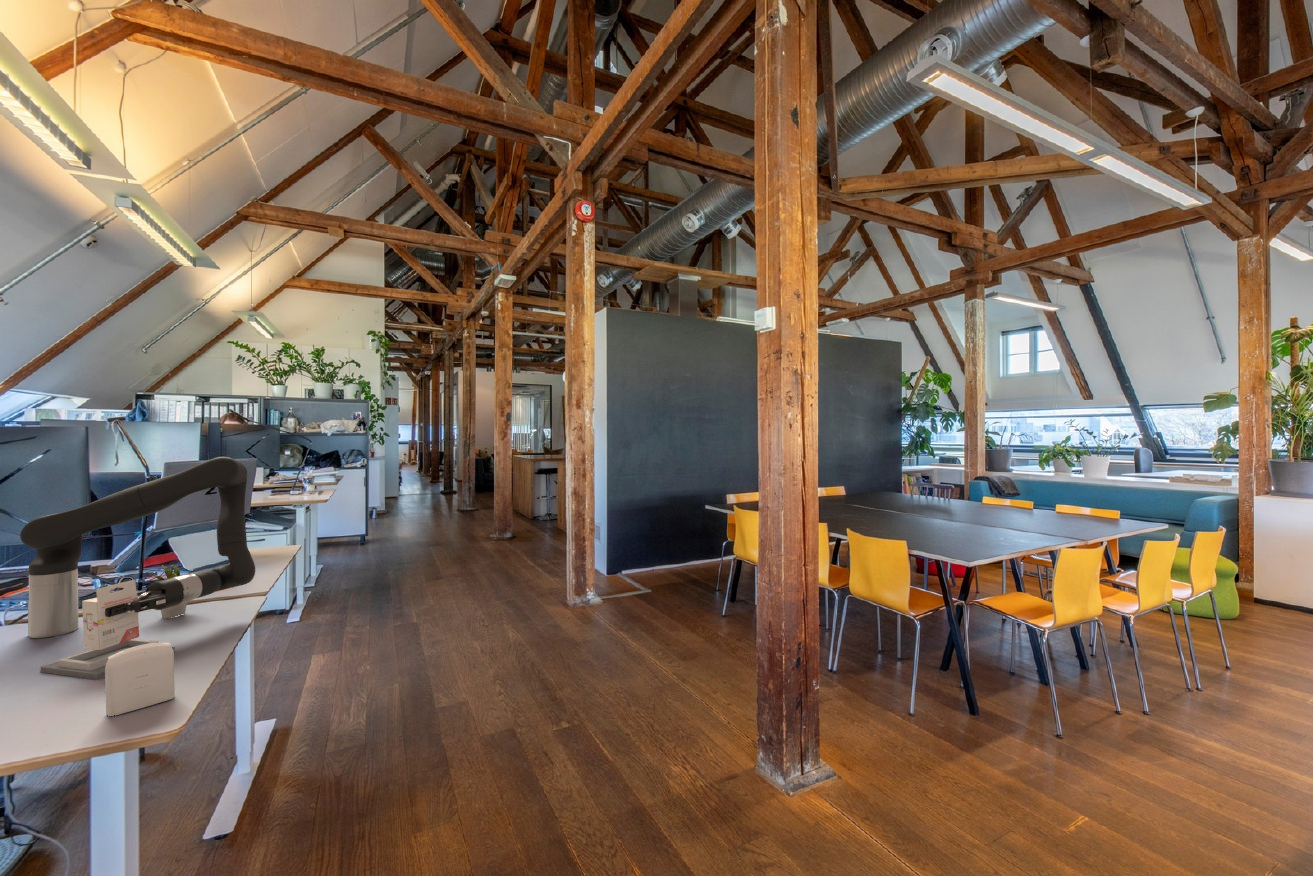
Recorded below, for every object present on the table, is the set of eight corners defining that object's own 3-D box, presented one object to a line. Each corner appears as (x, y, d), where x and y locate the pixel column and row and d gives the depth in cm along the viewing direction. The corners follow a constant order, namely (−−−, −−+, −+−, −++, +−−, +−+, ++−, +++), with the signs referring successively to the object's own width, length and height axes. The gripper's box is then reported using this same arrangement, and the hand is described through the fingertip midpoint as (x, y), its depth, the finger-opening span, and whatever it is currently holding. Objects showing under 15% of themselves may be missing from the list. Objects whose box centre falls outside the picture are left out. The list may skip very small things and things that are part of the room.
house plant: (127, 620, 162) (126, 565, 161) (182, 606, 174) (181, 556, 174) (154, 626, 156) (154, 570, 156) (209, 611, 169) (208, 559, 169)
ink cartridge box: (124, 635, 137) (122, 578, 136) (140, 637, 136) (138, 579, 135) (82, 649, 128) (80, 588, 128) (98, 650, 127) (96, 589, 127)
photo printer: (106, 720, 105) (106, 656, 105) (104, 712, 108) (103, 650, 107) (176, 700, 113) (176, 641, 113) (172, 693, 115) (172, 636, 115)
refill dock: (40, 671, 126) (40, 660, 126) (121, 645, 142) (121, 635, 142) (97, 679, 122) (97, 667, 122) (174, 651, 138) (174, 641, 138)
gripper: (154, 576, 147) (75, 595, 131) (195, 578, 144) (119, 598, 128) (155, 603, 148) (76, 625, 131) (196, 606, 144) (120, 630, 128)
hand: (98, 612), depth 129 cm, fingers closed on ink cartridge box, 5 cm apart
